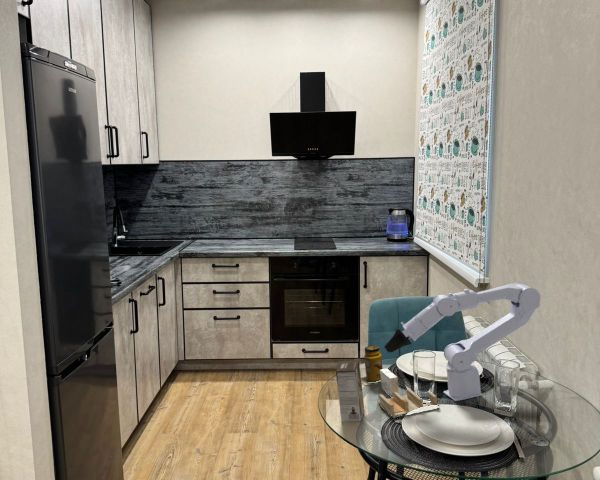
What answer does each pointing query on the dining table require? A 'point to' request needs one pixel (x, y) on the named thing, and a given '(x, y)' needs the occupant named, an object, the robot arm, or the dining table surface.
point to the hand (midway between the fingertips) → (387, 349)
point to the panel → (389, 381)
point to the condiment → (372, 364)
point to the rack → (404, 402)
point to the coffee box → (350, 390)
